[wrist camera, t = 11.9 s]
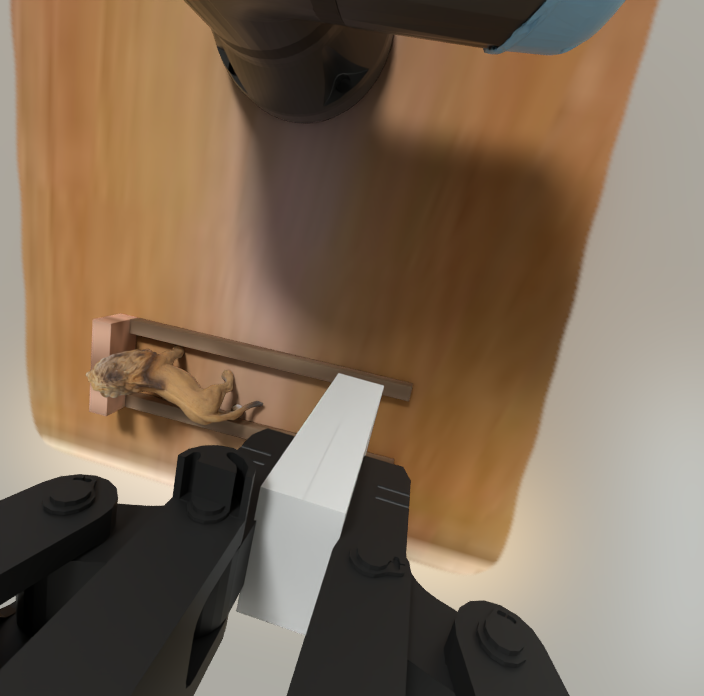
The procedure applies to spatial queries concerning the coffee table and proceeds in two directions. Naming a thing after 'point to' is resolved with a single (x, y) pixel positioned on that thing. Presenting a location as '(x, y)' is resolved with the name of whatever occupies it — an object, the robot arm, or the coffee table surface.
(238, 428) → the track
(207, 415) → the lion figurine
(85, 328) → the coffee table surface
